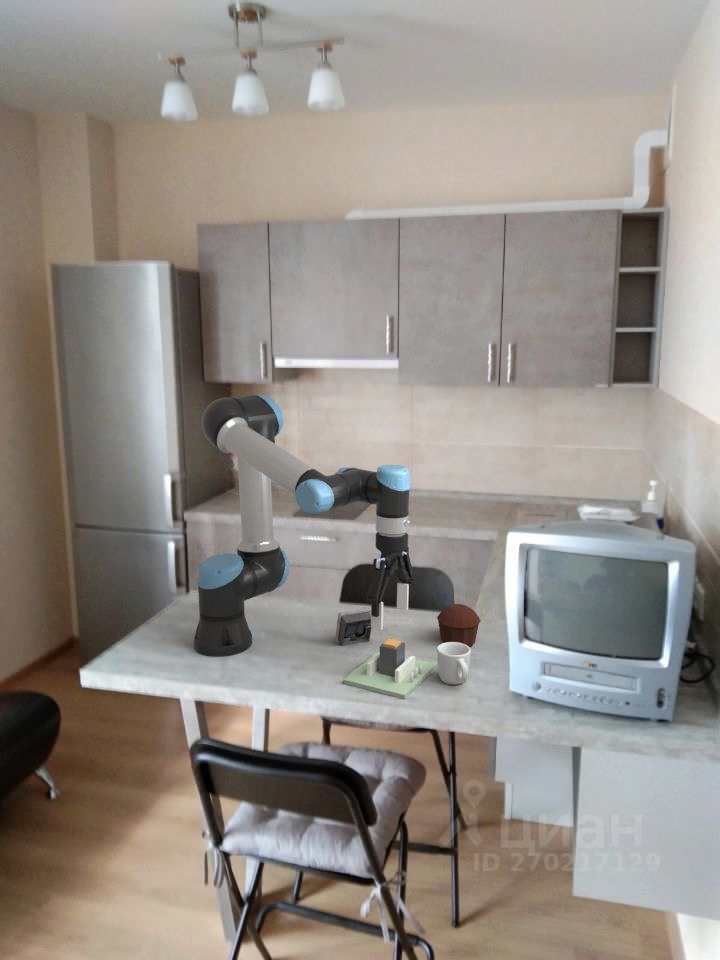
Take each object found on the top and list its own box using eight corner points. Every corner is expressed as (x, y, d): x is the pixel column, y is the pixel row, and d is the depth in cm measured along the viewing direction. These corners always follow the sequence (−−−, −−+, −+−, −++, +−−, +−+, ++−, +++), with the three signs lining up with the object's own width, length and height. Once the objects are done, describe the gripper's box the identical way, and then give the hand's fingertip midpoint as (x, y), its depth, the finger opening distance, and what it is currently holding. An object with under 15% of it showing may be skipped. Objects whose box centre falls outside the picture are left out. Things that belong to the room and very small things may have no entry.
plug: (379, 673, 179) (379, 643, 178) (387, 666, 183) (388, 637, 182) (396, 677, 177) (396, 647, 176) (404, 670, 181) (404, 640, 180)
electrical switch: (366, 635, 204) (367, 604, 201) (374, 644, 199) (375, 613, 197) (334, 641, 200) (335, 610, 198) (341, 650, 196) (342, 618, 193)
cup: (480, 690, 173) (481, 658, 171) (448, 695, 171) (449, 662, 169) (461, 670, 183) (462, 639, 182) (431, 674, 181) (431, 643, 179)
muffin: (428, 638, 202) (429, 603, 200) (462, 630, 207) (463, 596, 205) (453, 654, 192) (454, 618, 190) (488, 646, 197) (489, 610, 195)
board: (343, 683, 177) (343, 667, 176) (378, 654, 192) (378, 640, 191) (404, 699, 169) (405, 682, 168) (436, 667, 185) (436, 652, 184)
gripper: (381, 548, 161) (379, 640, 165) (428, 522, 182) (425, 604, 187) (351, 543, 164) (350, 633, 169) (400, 517, 186) (398, 598, 190)
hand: (389, 618), depth 178 cm, fingers open, 13 cm apart
